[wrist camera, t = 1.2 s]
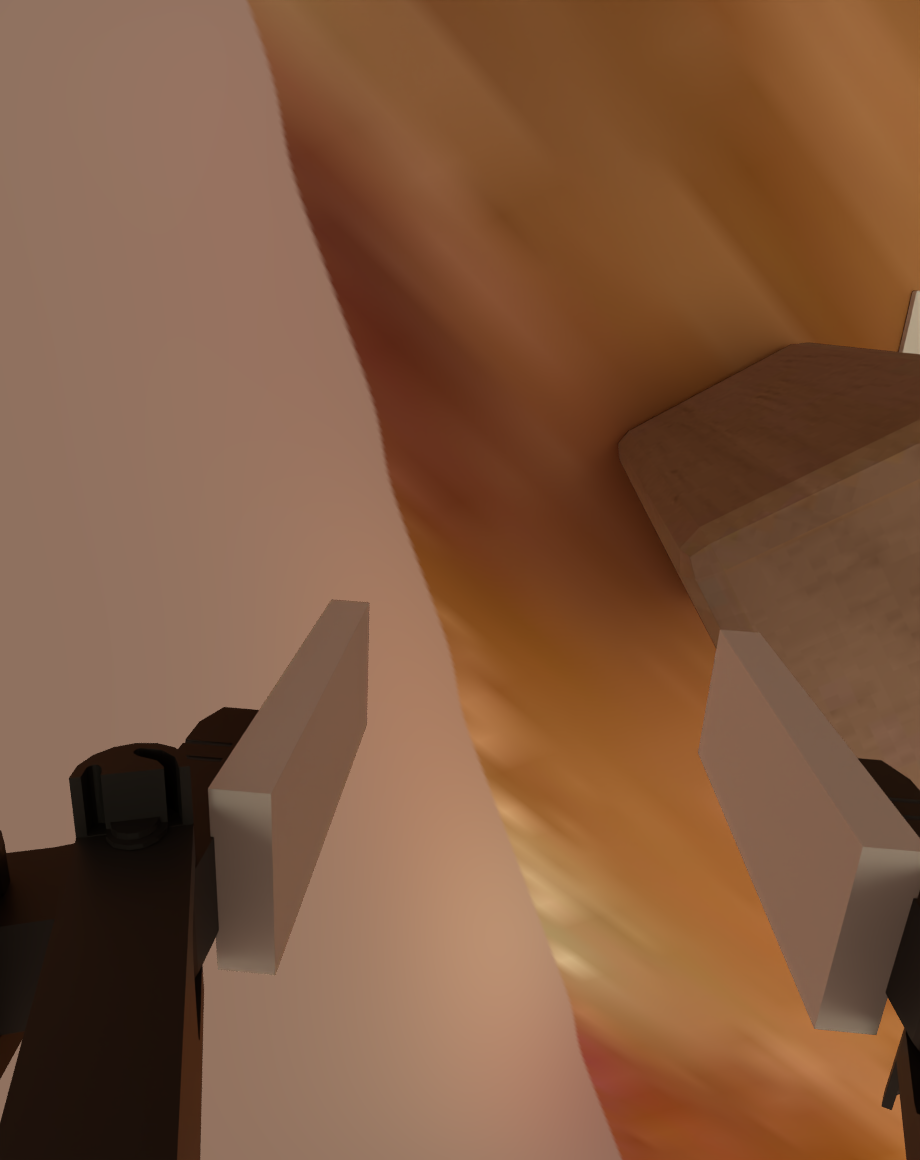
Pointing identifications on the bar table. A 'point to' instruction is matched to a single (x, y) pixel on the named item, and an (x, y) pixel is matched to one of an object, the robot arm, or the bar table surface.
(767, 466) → the wooden block
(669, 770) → the bar table surface
